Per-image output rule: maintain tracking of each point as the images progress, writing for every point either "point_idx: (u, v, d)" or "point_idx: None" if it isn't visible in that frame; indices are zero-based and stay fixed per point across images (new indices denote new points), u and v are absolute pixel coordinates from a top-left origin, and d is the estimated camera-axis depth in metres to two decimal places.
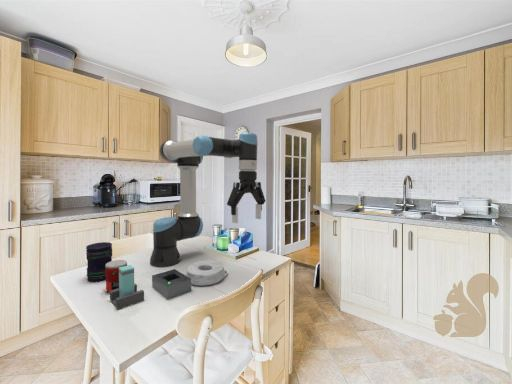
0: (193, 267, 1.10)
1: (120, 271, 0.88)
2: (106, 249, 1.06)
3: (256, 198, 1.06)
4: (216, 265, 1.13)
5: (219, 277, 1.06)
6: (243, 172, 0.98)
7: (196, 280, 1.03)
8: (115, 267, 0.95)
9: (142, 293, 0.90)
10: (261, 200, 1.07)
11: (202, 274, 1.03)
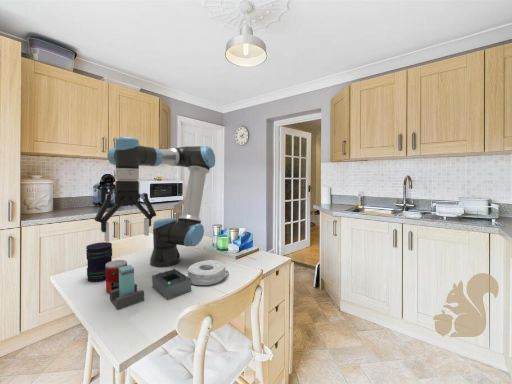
0: (194, 267, 1.10)
1: (120, 271, 0.88)
2: (106, 249, 1.06)
3: (142, 212, 0.92)
4: (217, 265, 1.13)
5: (220, 277, 1.06)
6: (117, 182, 0.85)
7: (197, 279, 1.03)
8: (115, 267, 0.95)
9: (142, 293, 0.90)
10: (149, 214, 0.93)
11: (203, 273, 1.03)
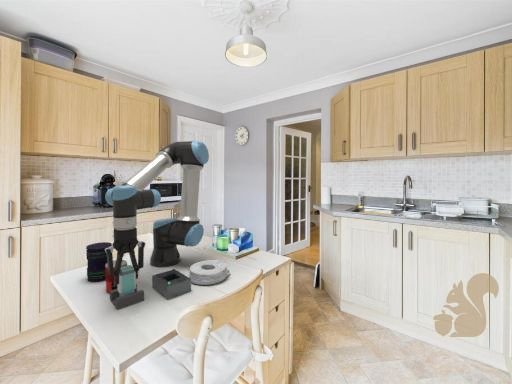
0: (196, 266, 1.10)
1: (120, 271, 0.88)
2: None
3: (132, 261, 0.91)
4: (219, 264, 1.14)
5: (222, 276, 1.06)
6: (115, 232, 0.85)
7: (199, 279, 1.03)
8: None
9: (142, 293, 0.90)
10: (137, 266, 0.91)
11: (205, 273, 1.04)
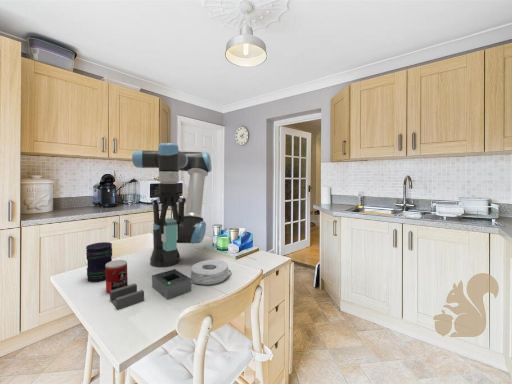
0: (197, 266, 1.11)
1: None
2: (106, 249, 1.06)
3: (174, 215, 0.99)
4: (220, 264, 1.14)
5: (223, 276, 1.07)
6: (161, 185, 0.93)
7: (200, 279, 1.04)
8: (115, 267, 0.95)
9: (142, 293, 0.90)
10: (179, 219, 0.99)
11: (206, 273, 1.04)
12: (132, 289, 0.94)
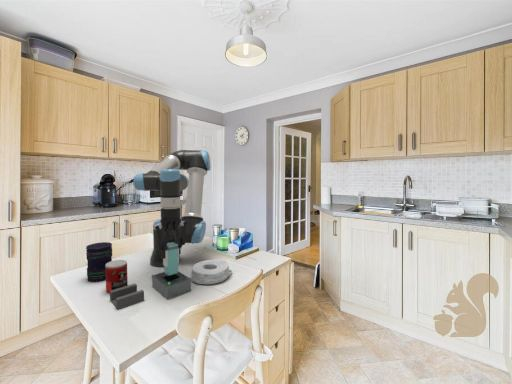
0: (198, 266, 1.11)
1: (166, 247, 0.97)
2: (106, 249, 1.06)
3: (176, 239, 1.00)
4: (220, 264, 1.14)
5: (224, 276, 1.07)
6: (163, 210, 0.94)
7: (201, 279, 1.04)
8: (115, 267, 0.95)
9: (142, 293, 0.90)
10: (180, 243, 1.00)
11: (207, 272, 1.04)
12: (132, 289, 0.94)
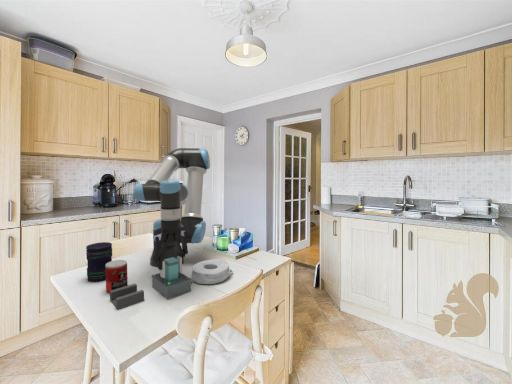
0: (199, 266, 1.11)
1: (166, 262, 0.97)
2: (106, 249, 1.06)
3: (178, 249, 1.01)
4: (221, 264, 1.14)
5: (224, 276, 1.07)
6: (163, 222, 0.94)
7: (202, 278, 1.04)
8: (115, 267, 0.95)
9: (142, 293, 0.90)
10: (183, 252, 1.01)
11: (207, 272, 1.04)
12: (132, 289, 0.94)
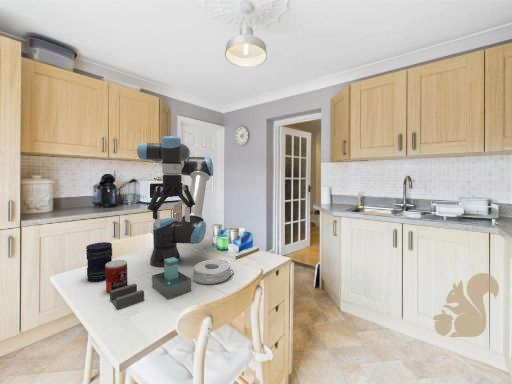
0: (200, 266, 1.11)
1: (166, 262, 0.97)
2: (106, 249, 1.06)
3: (184, 201, 1.06)
4: (222, 264, 1.15)
5: (226, 275, 1.07)
6: (165, 176, 0.98)
7: (203, 278, 1.04)
8: (115, 267, 0.95)
9: (142, 293, 0.90)
10: (189, 203, 1.07)
11: (209, 272, 1.05)
12: (132, 289, 0.94)
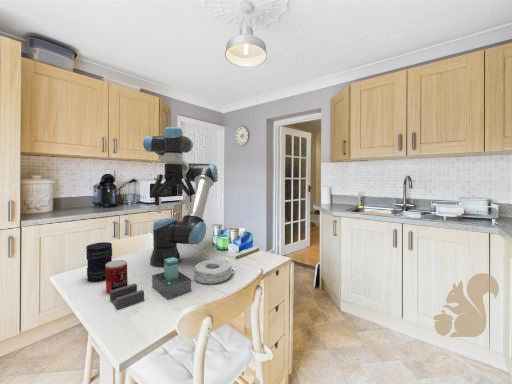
0: (201, 265, 1.12)
1: (166, 262, 0.97)
2: (106, 249, 1.06)
3: (184, 190, 1.11)
4: (223, 264, 1.15)
5: (227, 275, 1.08)
6: (167, 164, 1.03)
7: (204, 278, 1.04)
8: (115, 267, 0.95)
9: (142, 293, 0.90)
10: (190, 192, 1.12)
11: (210, 272, 1.05)
12: (132, 289, 0.94)
